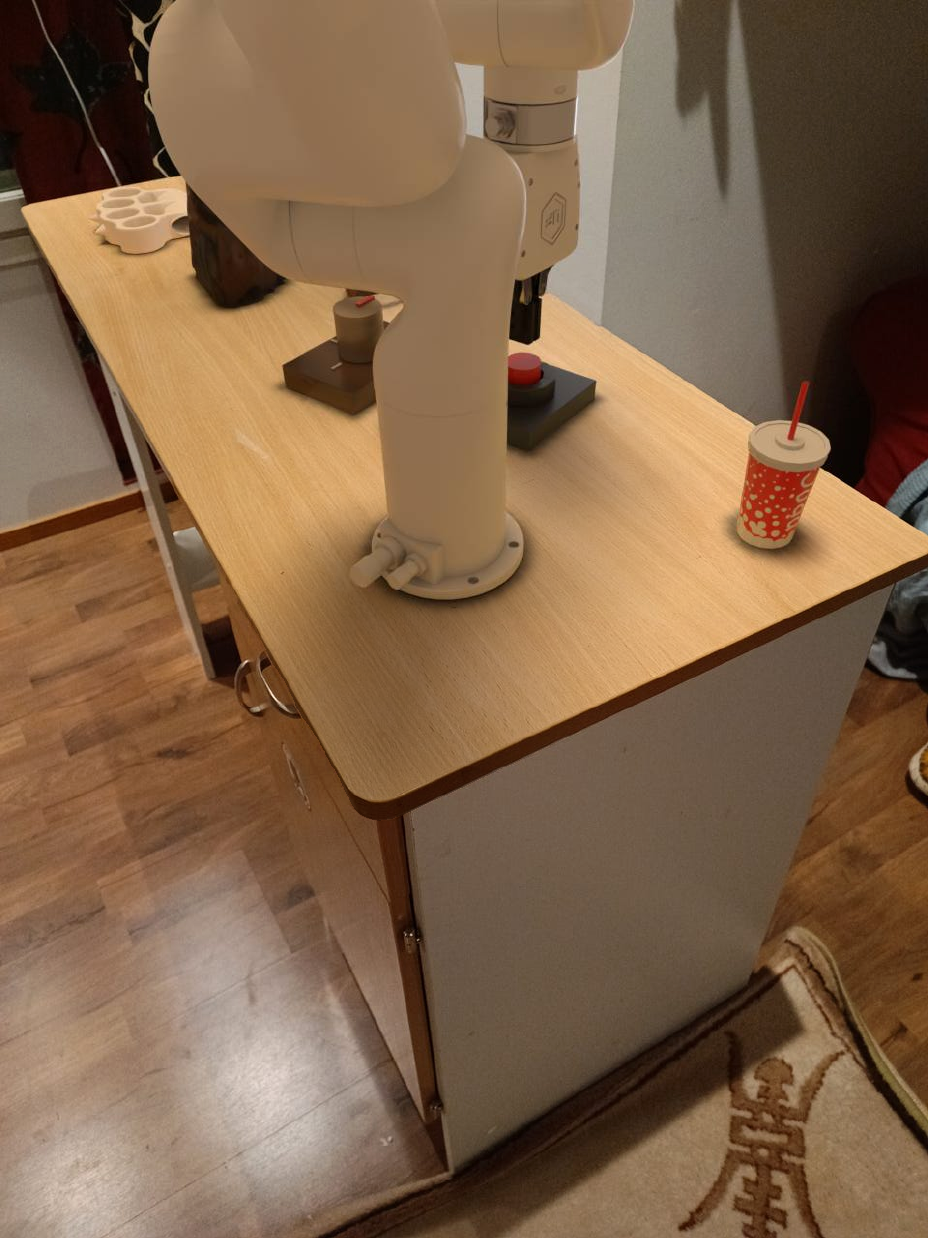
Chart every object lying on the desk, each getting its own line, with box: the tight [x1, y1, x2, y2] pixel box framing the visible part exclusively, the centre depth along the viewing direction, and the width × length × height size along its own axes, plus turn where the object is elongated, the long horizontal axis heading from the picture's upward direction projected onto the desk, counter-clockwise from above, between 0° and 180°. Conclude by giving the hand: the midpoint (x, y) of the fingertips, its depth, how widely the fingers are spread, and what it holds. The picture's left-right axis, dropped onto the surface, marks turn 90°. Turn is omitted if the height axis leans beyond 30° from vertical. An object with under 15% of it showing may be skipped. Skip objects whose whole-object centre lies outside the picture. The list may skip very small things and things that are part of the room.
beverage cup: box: [736, 380, 832, 550], centre depth 69 cm, size 6×6×14 cm
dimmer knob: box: [332, 295, 384, 363], centre depth 91 cm, size 5×5×5 cm
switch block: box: [507, 360, 597, 453], centre depth 88 cm, size 12×10×4 cm
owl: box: [184, 180, 286, 309], centre depth 104 cm, size 13×13×20 cm
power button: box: [508, 351, 542, 385], centre depth 86 cm, size 4×4×2 cm
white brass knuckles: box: [88, 186, 190, 255], centre depth 125 cm, size 3×18×15 cm
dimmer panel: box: [281, 320, 390, 416], centre depth 94 cm, size 14×10×3 cm
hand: (521, 338), depth 83 cm, fingers closed
